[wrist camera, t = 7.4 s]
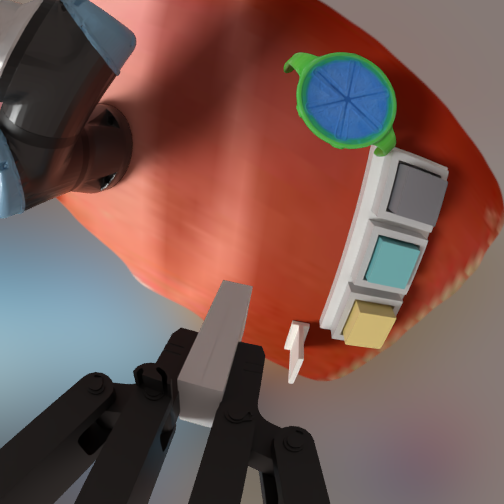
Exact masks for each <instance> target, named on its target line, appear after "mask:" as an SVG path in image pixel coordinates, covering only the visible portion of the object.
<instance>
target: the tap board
mask: <svg viewBox="0 0 504 504" xmlns="http://www.w3.org/2000/svg"><path fill="white" fill-rule="evenodd" d="M376 148H377V146H375V145H371V147H370V152H369V157H368V161H367V166H366V170H365V174H364V178H363V182H362V187H361V191H360V194H359V198H358V202H357V206H356V210H355V213H354V217H353V220H352V224H351V227H350V231H349V234H348V238H347V241H346V244H345V248H344V251H343V254H342V257H341V260H340V264H339V267H338V270H337V273H336V276H335V279H334V282H333V285H332V287H331V290H330V293H329V296H328V299H327V302H326V304H325V307H324V310H323V313H322V315H321V318H320V328H323V329H329V330H331V335H332V339H338V340H344V335H343V330H342V329H343V327H344V325H345V322H346V320H347V318H348V315H349V313H350V311H351V308H352V306H353V303H354V301H355V299H357V300H363V301H368V302H374V303H379V304H385V305H391V307H392V309H393V312H394V314H395V316H396V315H397V313H398V311H399V309H400V307H401V305H402V303H403V301H402V299H403V297H404V295H406V294H407V292H408V290H409V288H410V285H411V283H412V281H413V278H414V276H415V274H416V271H417V269H418V266H419V264H420V261H421V259H422V256H423V254H424V251H425V248H426V246H427V243H428V240H427V238H428V235H429V232H432V229H433V226H431V225H428V224H425V223H421V222H418V221H415V220H412V219H408V218H405V217H402V216H398V215H396V214H395V213H393V212H392V211H391V210H390V209H389V208H387V205H388V202H389V198H390V194H391V191H392V187H393V183H394V179H395V175H396V171H397V166H398V163H400V164H403V165H406V166H409V167H412V168H415V169H418V170H420V171H423V172H425V173H428V174H431V175H433V176H436V177H438V178H440V179H443V180H445V181H447V177H448V173H449V171H447V169H448V168H447V167H444V166H442V165H440V164H438V163H435V162H433V161H430V160H428V159H425V158H423V157H420V156H418V155H415V154H413V153H410V152H407V151H404V150H402V149H399V148H396V147H394V148H393V149H392V150H391V151H390V152H389V153H388V154H387V155H386V156H382V157H378V156H376V155H375V154H374V150H375V149H376ZM378 235H382V236H386V237H390V238H394V239H398V240H401V241H405V242H409V243H413V244H414V245H415V246H416V247H417V248H418V249H419V250H420V253H419V256H418V259H417V261H416V264H415V266H414V269H413V271H412V274H411V276H410V278H409V281H408V283H407V285H406V288H405V289H400V288H395V287H390V286H385V285H380V284H375V283H370V282H368V281H367V279H366V276H365V273H366V270H367V267H368V264H369V262H370V259H371V256H372V253H373V250H374V247H375V244H376V241H377V238H378Z"/></svg>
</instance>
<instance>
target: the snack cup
mask: <svg viewBox="0 0 504 504" xmlns="http://www.w3.org/2000/svg"><path fill="white" fill-rule="evenodd" d="M294 69H295V70H296V71H297V73H298V74H299V77H300V78H299V82H298V86H297V93H296V98H297V107H296V108H297V111H298V114H299V116H300V117H301V118H302V119H303V121H304V122H305V124H306V125H307V127H308V128H309V129H310V130H311V131H312V132H313V133H314V134H315V135H316V136H317V137H319V138H320V139H322V140H323V141H325V142H327V143H329V144H331V145H332V146H333V147H335V148H339V149H344V148H348V149H356V148H363V147H367V146H370V145H375V146H377V148H376V149H375V150H374V154H375V155H376V156H378V157H382V156H386V155H387V154H388V153H389V152H390V151H391V150H392V149H393V148H394V147H395V145H396V137H395V133H394V131H393V127H392V125H393V122H394V119H395V116H396V107H397V104H396V97H395V92H394V89H393V87H392V85H391V83H390V81H389V79H388V78H387V77H386V75H385V74H384V73H383V71H382V70H381V69H380V68H379V67H377V66H376V65H375V64H374V63H372V62H371V61H369V60H367V59H366V58H363V57H361V56H359V55H357V54H354V53H344V52H337V53H331V54H327V55H324V56H321V57H318V56H315V55H312V54H308V53H303V52H299V53H295V54H294V55H293V56H292V57H291V58H290V59H289V60H288V61H287V62H286V63H285V65H284V72H285V73H289V72H292V71H293V70H294Z"/></svg>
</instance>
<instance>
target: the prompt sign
mask: <svg viewBox="0 0 504 504" xmlns="http://www.w3.org/2000/svg"><path fill="white" fill-rule="evenodd" d="M309 328H310V324H309V323H303V322H298V321H292V324H291V327H290V330H289V334H288V337H287V340H286V343H285V347H284V349H288V350H290V364H289V380H288V382H289V383H291V384H293V383H294V381H295V378H296V376H297V374H298V372H299V369H300V367H301V365H302V362H303V360H304V341H305V338H306V336H307V333H308V330H309Z"/></svg>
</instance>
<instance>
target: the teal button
mask: <svg viewBox="0 0 504 504" xmlns="http://www.w3.org/2000/svg"><path fill="white" fill-rule="evenodd" d="M419 253H420V250H419V249H418V248H417V247H416V246H415V245H414V244H413V243H409V242H405V241H401V240H398V239H394V238H390V237H386V236H382V235H378V238H377V241H376V244H375V247H374V250H373V253H372V256H371V259H370V262H369V264H368V267H367V270H366V273H365V276H366V279H367V281H368V282H370V283H375V284H380V285H385V286H390V287H395V288H400V289H405V288H406V285H407V283H408V281H409V278H410V276H411V274H412V271H413V269H414V266H415V264H416V261H417V259H418V256H419Z"/></svg>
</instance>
